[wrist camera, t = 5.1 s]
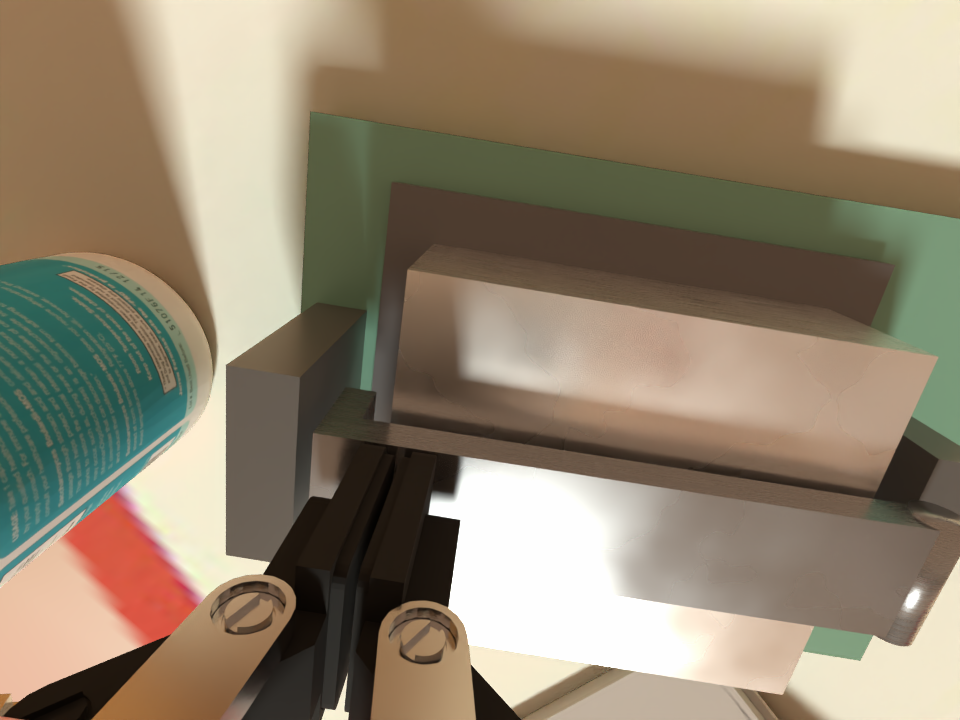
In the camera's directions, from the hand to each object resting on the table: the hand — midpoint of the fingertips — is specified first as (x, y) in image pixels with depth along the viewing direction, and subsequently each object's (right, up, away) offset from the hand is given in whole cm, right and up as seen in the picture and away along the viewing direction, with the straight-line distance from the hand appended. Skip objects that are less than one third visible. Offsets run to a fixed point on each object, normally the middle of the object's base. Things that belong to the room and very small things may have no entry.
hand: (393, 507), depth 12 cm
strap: (+5, 0, +3) cm, 6 cm away
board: (+7, +2, +7) cm, 10 cm away
